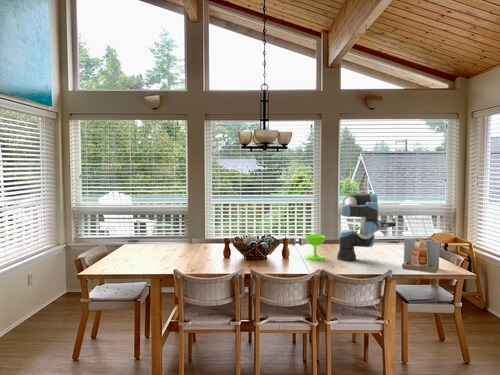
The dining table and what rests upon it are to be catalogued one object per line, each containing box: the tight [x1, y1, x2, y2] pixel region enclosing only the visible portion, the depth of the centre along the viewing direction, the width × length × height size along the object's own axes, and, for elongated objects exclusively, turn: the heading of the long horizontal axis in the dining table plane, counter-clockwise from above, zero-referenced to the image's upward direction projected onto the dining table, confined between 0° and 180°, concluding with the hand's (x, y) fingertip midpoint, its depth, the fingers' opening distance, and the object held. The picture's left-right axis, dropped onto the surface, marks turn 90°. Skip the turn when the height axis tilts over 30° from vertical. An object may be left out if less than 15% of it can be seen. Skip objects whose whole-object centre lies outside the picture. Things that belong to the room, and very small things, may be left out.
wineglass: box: [304, 234, 326, 261], centre depth 317 cm, size 16×16×18 cm
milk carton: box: [411, 237, 428, 266], centre depth 285 cm, size 9×9×20 cm
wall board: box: [401, 238, 441, 273], centre depth 284 cm, size 24×15×20 cm, turn 59°
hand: (382, 222), depth 272 cm, fingers open, 13 cm apart
